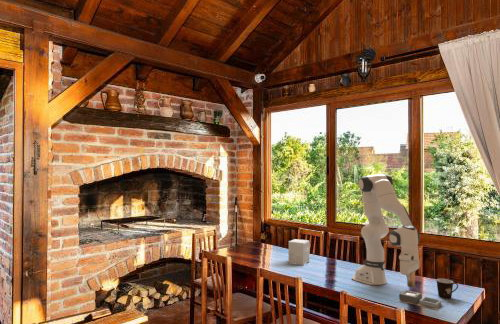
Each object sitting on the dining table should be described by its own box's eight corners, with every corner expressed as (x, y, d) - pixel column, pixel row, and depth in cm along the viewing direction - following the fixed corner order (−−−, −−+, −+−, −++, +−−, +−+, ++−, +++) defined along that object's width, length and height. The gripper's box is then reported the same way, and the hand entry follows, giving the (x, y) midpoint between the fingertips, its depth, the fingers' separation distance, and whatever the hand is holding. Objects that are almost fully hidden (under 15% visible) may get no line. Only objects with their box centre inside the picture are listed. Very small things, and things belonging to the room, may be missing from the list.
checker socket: (399, 300, 201) (399, 292, 201) (405, 296, 208) (405, 288, 208) (416, 304, 195) (416, 296, 195) (421, 300, 202) (421, 292, 202)
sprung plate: (404, 296, 201) (404, 294, 201) (407, 294, 205) (407, 292, 205) (413, 298, 198) (413, 296, 198) (416, 296, 202) (416, 294, 202)
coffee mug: (437, 299, 204) (437, 282, 205) (435, 294, 213) (435, 278, 213) (460, 302, 200) (460, 284, 201) (457, 297, 208) (457, 280, 209)
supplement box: (309, 262, 290) (309, 240, 290) (303, 265, 278) (303, 243, 279) (294, 259, 296) (294, 238, 297) (288, 263, 285) (288, 241, 286)
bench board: (397, 301, 201) (397, 300, 201) (404, 296, 209) (404, 295, 209) (436, 311, 187) (436, 309, 187) (442, 305, 195) (442, 304, 195)
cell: (406, 286, 201) (405, 270, 201) (408, 284, 204) (408, 269, 204) (413, 287, 198) (413, 271, 199) (416, 285, 201) (415, 270, 202)
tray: (419, 304, 194) (419, 300, 194) (424, 300, 200) (424, 296, 200) (436, 309, 188) (436, 304, 188) (441, 304, 194) (441, 300, 195)
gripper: (410, 251, 212) (411, 274, 211) (397, 256, 197) (398, 282, 196) (422, 252, 207) (422, 276, 207) (409, 258, 193) (410, 284, 192)
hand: (410, 279), depth 201 cm, fingers closed on cell, 4 cm apart
